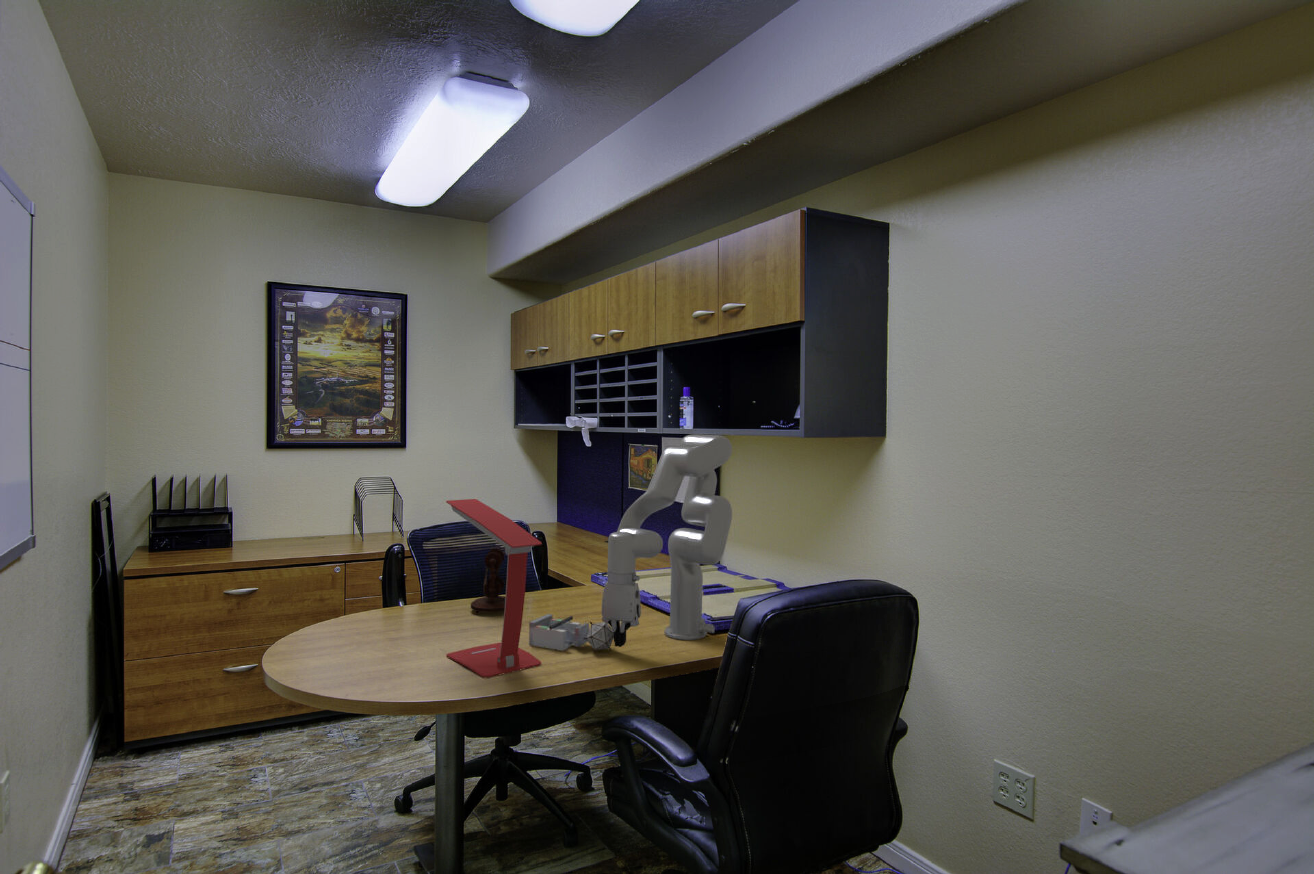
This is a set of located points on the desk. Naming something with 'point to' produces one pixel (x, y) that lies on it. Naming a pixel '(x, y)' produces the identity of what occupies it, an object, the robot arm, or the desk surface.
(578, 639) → the grey channel block
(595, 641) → the game die
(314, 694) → the desk surface
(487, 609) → the brown jointed stand
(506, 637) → the desk lamp
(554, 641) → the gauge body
